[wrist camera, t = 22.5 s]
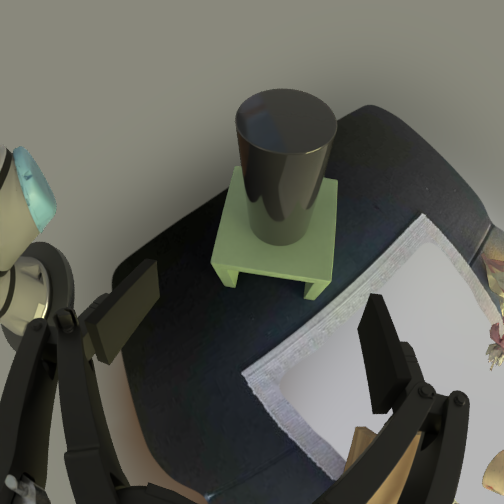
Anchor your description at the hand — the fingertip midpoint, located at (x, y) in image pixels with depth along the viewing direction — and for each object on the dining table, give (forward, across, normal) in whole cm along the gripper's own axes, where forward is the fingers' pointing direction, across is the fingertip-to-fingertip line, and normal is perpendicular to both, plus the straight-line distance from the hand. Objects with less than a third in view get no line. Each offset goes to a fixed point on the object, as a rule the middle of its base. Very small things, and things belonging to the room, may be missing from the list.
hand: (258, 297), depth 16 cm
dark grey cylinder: (+14, 0, 0) cm, 14 cm away
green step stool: (+21, 0, +7) cm, 22 cm away
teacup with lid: (-4, -51, +32) cm, 61 cm away
